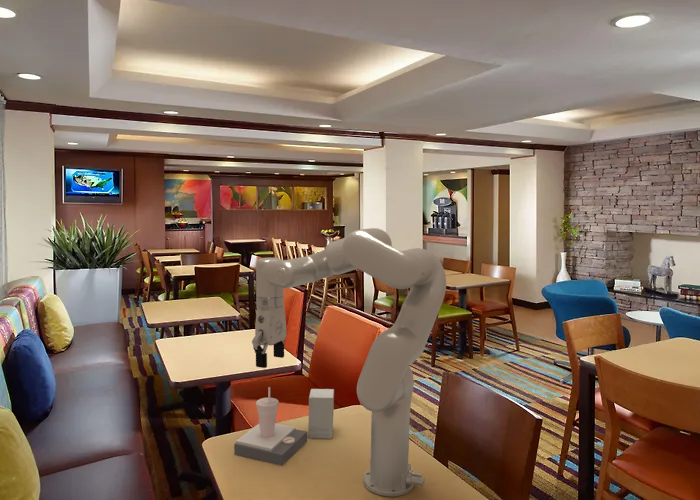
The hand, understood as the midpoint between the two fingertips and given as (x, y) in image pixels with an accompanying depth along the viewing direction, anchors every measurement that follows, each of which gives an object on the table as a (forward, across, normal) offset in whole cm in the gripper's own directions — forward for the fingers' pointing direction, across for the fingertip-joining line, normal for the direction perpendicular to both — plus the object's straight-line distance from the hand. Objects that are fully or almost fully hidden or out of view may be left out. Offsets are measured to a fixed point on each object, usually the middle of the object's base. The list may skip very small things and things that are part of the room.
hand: (270, 361), depth 143 cm
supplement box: (+25, +13, -10) cm, 30 cm away
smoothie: (+21, -1, +1) cm, 21 cm away
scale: (+25, 0, -1) cm, 25 cm away
